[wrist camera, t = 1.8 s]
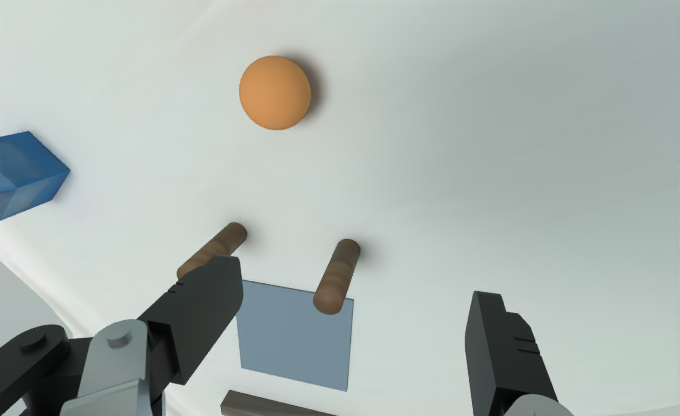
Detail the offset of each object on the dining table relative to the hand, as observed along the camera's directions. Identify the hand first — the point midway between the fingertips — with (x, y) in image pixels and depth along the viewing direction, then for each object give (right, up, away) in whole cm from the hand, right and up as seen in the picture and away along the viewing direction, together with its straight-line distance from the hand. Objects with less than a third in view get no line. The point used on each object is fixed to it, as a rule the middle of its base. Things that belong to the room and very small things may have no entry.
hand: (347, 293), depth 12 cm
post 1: (-12, 0, +29) cm, 31 cm away
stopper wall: (-7, -26, +39) cm, 48 cm away
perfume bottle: (-37, +8, +31) cm, 49 cm away
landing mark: (-6, -13, +33) cm, 36 cm away
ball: (-6, +13, +18) cm, 23 cm away
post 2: (+1, -2, +26) cm, 26 cm away
